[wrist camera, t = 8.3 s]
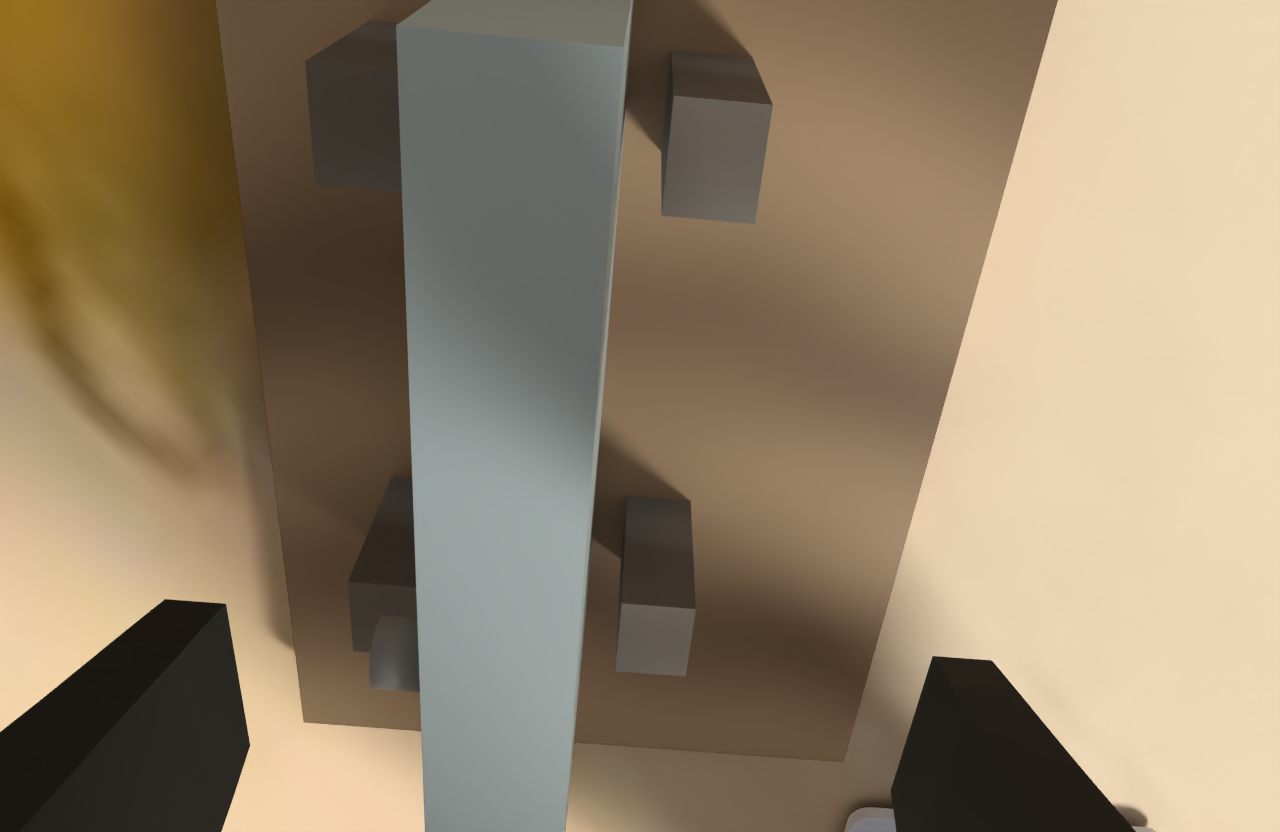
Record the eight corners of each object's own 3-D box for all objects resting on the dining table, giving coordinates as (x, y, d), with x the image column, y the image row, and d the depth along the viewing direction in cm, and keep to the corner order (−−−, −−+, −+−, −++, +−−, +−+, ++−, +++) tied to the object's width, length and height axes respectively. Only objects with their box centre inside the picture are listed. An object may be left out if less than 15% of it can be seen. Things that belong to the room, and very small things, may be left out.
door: (585, 613, 20) (560, 885, 15) (447, 602, 20) (373, 872, 15) (636, -31, 14) (623, 47, 9) (437, -51, 14) (303, 16, 9)
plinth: (832, 710, 23) (867, 885, 19) (323, 672, 23) (255, 842, 19) (1110, -343, 13) (1298, -419, 9) (207, -441, 13) (12, -562, 9)
